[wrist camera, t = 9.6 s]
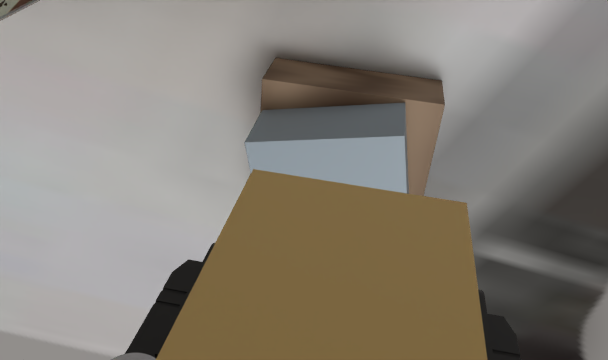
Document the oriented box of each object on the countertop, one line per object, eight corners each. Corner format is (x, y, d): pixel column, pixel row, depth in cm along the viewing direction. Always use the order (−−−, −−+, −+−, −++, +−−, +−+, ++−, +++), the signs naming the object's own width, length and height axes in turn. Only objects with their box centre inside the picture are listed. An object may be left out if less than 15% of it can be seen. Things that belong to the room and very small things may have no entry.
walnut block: (269, 191, 39) (255, 224, 36) (277, 55, 34) (262, 78, 31) (410, 214, 38) (410, 250, 35) (441, 77, 33) (444, 104, 30)
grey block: (283, 224, 36) (269, 265, 32) (262, 110, 32) (244, 142, 28) (410, 223, 34) (409, 266, 31) (405, 102, 30) (404, 136, 27)
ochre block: (248, 319, 16) (168, 541, 11) (253, 169, 13) (150, 370, 8) (424, 353, 15) (427, 603, 10) (466, 202, 13) (498, 440, 8)
